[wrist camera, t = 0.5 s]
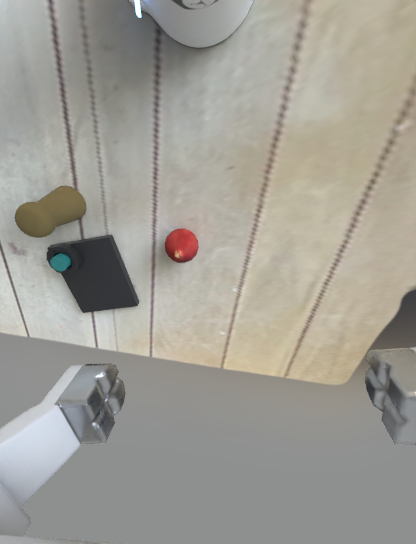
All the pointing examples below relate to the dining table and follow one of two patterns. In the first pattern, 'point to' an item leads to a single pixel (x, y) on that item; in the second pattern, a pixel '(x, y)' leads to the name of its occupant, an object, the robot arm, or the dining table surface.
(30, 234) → the cork
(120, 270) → the scale
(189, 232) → the onion
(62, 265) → the button
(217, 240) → the dining table surface
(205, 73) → the dining table surface
